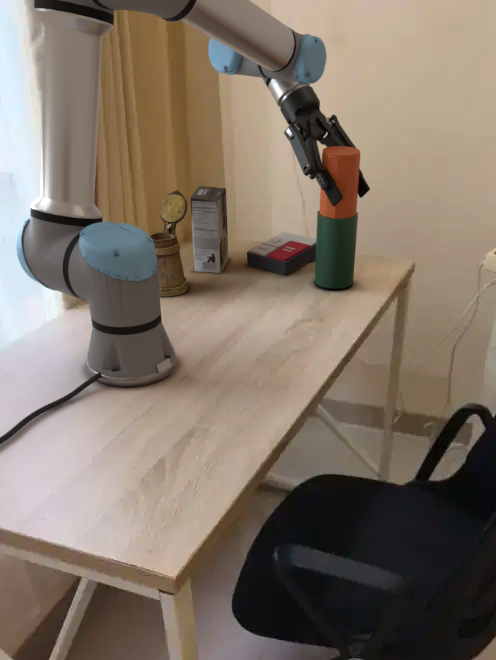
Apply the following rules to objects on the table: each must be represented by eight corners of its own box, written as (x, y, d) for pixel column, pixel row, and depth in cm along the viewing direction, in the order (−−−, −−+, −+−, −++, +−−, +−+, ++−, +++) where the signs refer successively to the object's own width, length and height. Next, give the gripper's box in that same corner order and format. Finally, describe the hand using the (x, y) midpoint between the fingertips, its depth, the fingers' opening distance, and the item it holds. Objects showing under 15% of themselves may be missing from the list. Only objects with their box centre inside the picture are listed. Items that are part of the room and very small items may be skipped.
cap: (333, 220, 150) (336, 156, 143) (312, 211, 155) (315, 148, 148) (362, 215, 153) (367, 152, 146) (341, 205, 158) (345, 144, 151)
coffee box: (202, 257, 175) (198, 185, 165) (229, 259, 174) (227, 186, 164) (193, 271, 168) (188, 197, 158) (221, 273, 167) (218, 198, 157)
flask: (328, 294, 158) (333, 206, 147) (306, 280, 164) (309, 195, 153) (361, 286, 162) (368, 200, 151) (338, 273, 168) (343, 190, 157)
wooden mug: (202, 276, 166) (197, 191, 155) (177, 299, 155) (170, 210, 144) (165, 271, 168) (158, 187, 157) (138, 293, 157) (128, 205, 146)
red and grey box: (245, 249, 169) (283, 228, 178) (246, 267, 172) (283, 246, 181) (285, 259, 164) (322, 237, 173) (286, 278, 167) (321, 256, 176)
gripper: (319, 103, 158) (372, 198, 159) (248, 116, 146) (307, 219, 147) (339, 77, 152) (395, 176, 153) (267, 89, 140) (328, 197, 141)
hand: (351, 197), depth 150 cm, fingers open, 8 cm apart
